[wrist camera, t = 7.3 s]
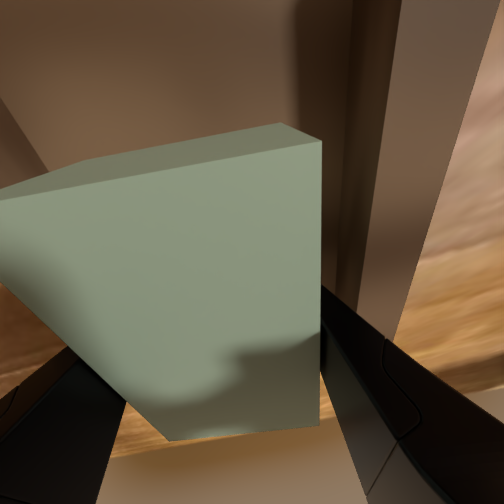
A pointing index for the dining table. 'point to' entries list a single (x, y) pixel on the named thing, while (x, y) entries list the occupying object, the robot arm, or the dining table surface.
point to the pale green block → (183, 276)
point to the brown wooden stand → (260, 104)
